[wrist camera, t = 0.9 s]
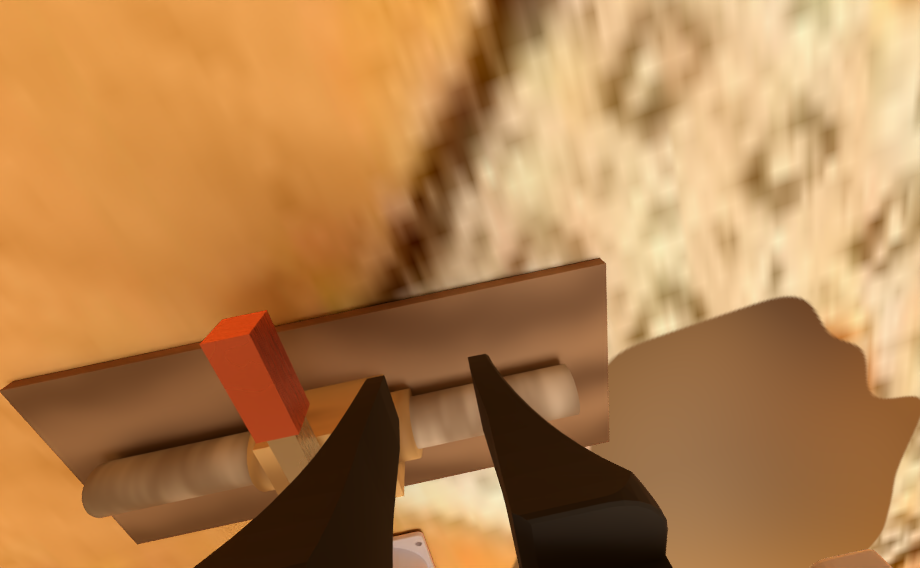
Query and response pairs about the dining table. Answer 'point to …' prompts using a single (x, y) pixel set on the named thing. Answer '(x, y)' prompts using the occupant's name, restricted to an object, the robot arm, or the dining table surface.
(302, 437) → the valve lever
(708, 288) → the dining table surface
